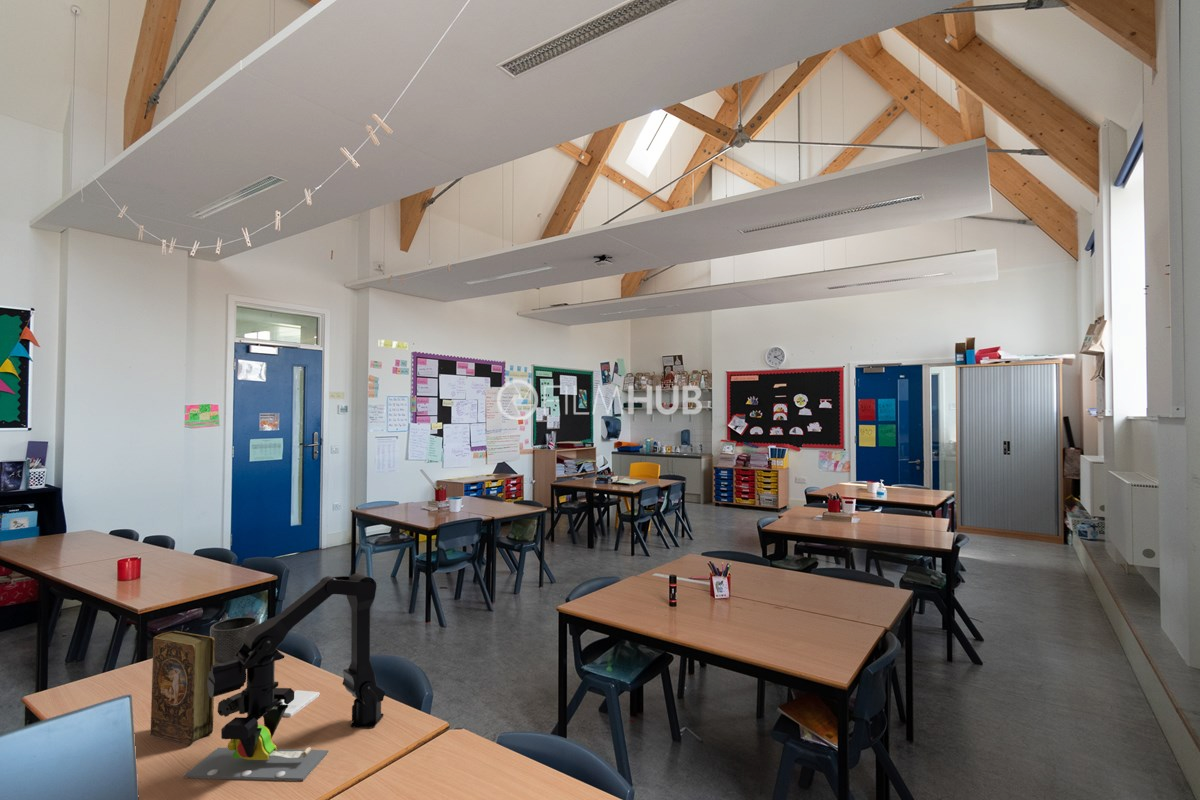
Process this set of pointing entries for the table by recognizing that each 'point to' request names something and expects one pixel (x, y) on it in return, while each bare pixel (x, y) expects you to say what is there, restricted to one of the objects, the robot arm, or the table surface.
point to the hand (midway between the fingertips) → (259, 748)
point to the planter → (230, 636)
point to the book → (181, 687)
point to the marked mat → (256, 766)
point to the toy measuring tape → (264, 748)
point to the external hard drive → (299, 701)
